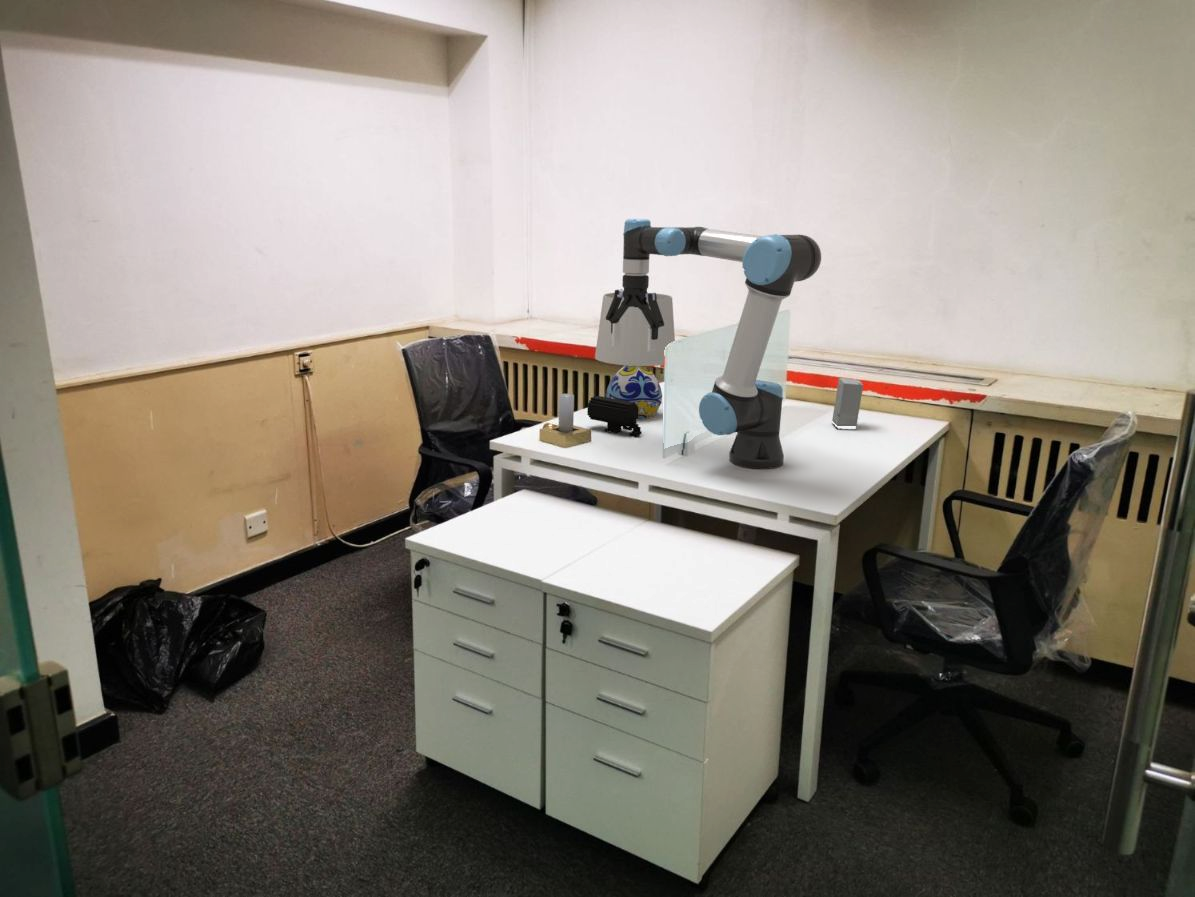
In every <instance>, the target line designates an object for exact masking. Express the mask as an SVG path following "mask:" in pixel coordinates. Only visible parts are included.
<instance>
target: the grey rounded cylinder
mask: <svg viewBox="0 0 1195 897" xmlns="http://www.w3.org/2000/svg"><path fill="white" fill-rule="evenodd" d="M574 409H575V395H574V394H573V393H561V394H559V395H558V425H559V431H560V432H564V433H568V432H572V431H573V425H574V414H575V413H574V412H575V411H574Z"/></svg>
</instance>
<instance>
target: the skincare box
mask: <svg viewBox="0 0 1195 897" xmlns="http://www.w3.org/2000/svg"><path fill="white" fill-rule="evenodd" d="M863 388H864V384H863V383H862V381H861V380H859V379H858V378H850V377H838V383H837V388H836V395H835V400H834V406H833V412H832V413H833V414H832V417H831V422H832V421H833V422H834V423H835V424H836V425H837V426H856V427H857V426H858V420H859V413H860V407H861V401H862V395H863V390H864V389H863Z"/></svg>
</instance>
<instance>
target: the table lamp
mask: <svg viewBox="0 0 1195 897" xmlns="http://www.w3.org/2000/svg"><path fill="white" fill-rule="evenodd" d="M614 293H615V292H608V293H604V294H603V295H602V303H601V311H600V316H599V325H598V333H597V339H596V347H595V354H594V359H595V360H597V361H599V362H602V363H606V364H611V365H616V366H617V365H619V366H623V367H621V368H620V369H619V370H618V371H616V373H615V374H614V375H613V377H612V378H611V379H610V380H609V384H608V385H607V389H606V392H605V397H607V398H613V399H618V400H624V401H629V402H634V403H636V405H637V407H639V409H638V419H637V420H647V418H648V419H651V418H650V417H652V416H653V417H654V416H655V415H656V414H657V412H658V411H659V409H660V407H661V404H662V403H663V392H662V388H661V385H660V383H659V380H658V378H657V377H656V375H655V374H654V373H653V371H652V370H650V369H649V368H648V367H653V366H664V350H665V347H666V346H667V345H668V344H669V343H671V342H673V341H675V342H676V335H675V334H676V333H675V321H674V304H673V303H674V302H673V297H672V296H671V295H670V294H664V293H663V294H662V293H656V292H655V293H656V298H657V303H658V306H659V309H660V312H661V315H662V318H663V321H664V326H662V327H659V328H658V339H656V350H655V351H648V328H650V325H649V323H648V321H647V320H646V318H645V316H644V314H643V313H642V311H641V310H640V309H639V308H636V307H628V309H627V310H626V312H625V313H624V314H623V316H622V317H621V318H620V320H619V321H620V322H617V323H621V325H620V345H615V346H613V345H612V334H611V322H610V321H609V320H606V315H607V313H608V311H609V308H610V306H611V303H612V301H613V298H614ZM647 293H648V294H649V293H650V292H647ZM623 300H624V297H622V300H621V303H622V301H623ZM646 301H647V303H648V300H647V299H646ZM621 303H620V305H619V307H620V306H621ZM648 304H649V303H648ZM643 305H644V304H643ZM619 307H618V308H619ZM649 308H650V306H649ZM650 310H651V309H650ZM653 417H652V418H653Z"/></svg>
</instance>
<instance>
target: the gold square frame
mask: <svg viewBox="0 0 1195 897" xmlns="http://www.w3.org/2000/svg"><path fill="white" fill-rule="evenodd" d="M538 439H539V441H540V442H544V443H548V444H551V445H554V446H559V447H561V448H565V449H567V448H570V447H573V446H577V445H581V444H586V443H589V442H592V429H590V428H586V427H581V426H578V425H575V424H573V431H572V432H568V433H564V432H560V431H559V424H553V423H550V422H546V423H544V424H543V425H542V428H539V438H538Z"/></svg>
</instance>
